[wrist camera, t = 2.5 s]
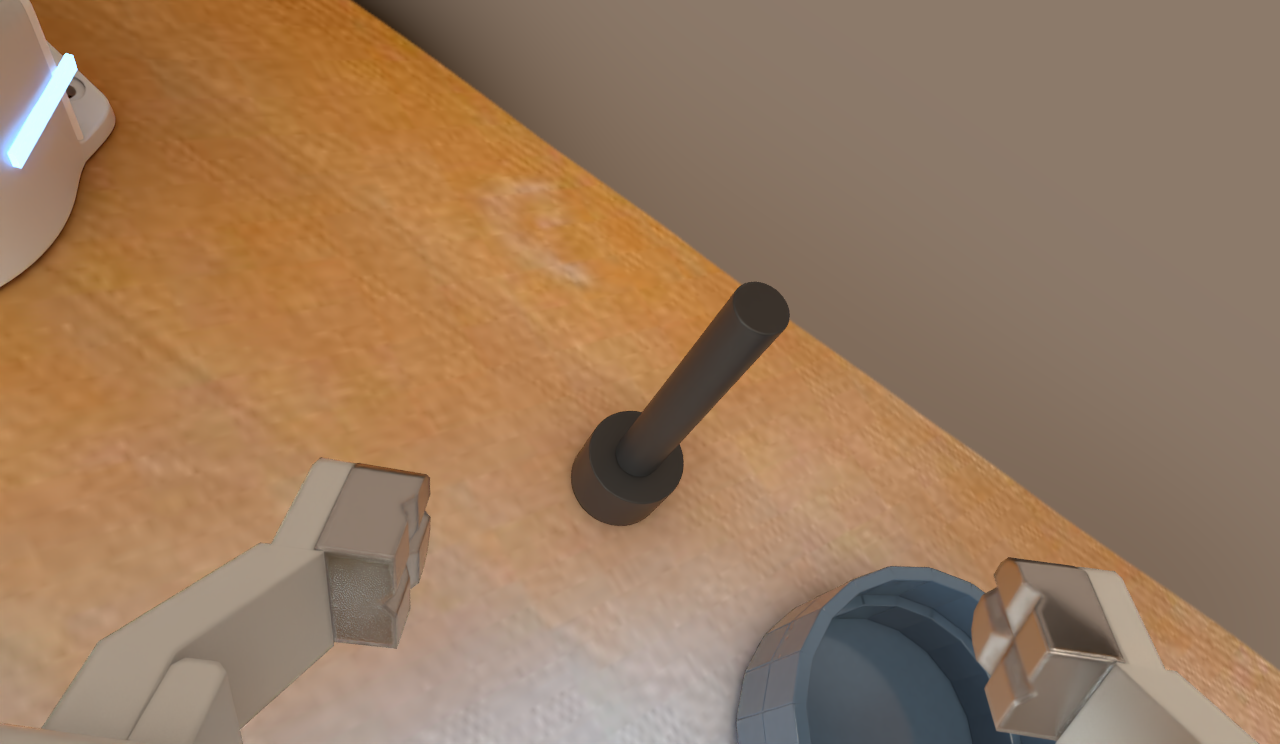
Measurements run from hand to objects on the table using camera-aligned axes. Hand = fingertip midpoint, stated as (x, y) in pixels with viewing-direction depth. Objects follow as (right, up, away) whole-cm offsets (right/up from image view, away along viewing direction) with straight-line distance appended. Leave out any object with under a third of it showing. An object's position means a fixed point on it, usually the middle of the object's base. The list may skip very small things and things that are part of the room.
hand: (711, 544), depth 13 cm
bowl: (+9, -14, +28) cm, 32 cm away
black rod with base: (-2, -3, +30) cm, 30 cm away
